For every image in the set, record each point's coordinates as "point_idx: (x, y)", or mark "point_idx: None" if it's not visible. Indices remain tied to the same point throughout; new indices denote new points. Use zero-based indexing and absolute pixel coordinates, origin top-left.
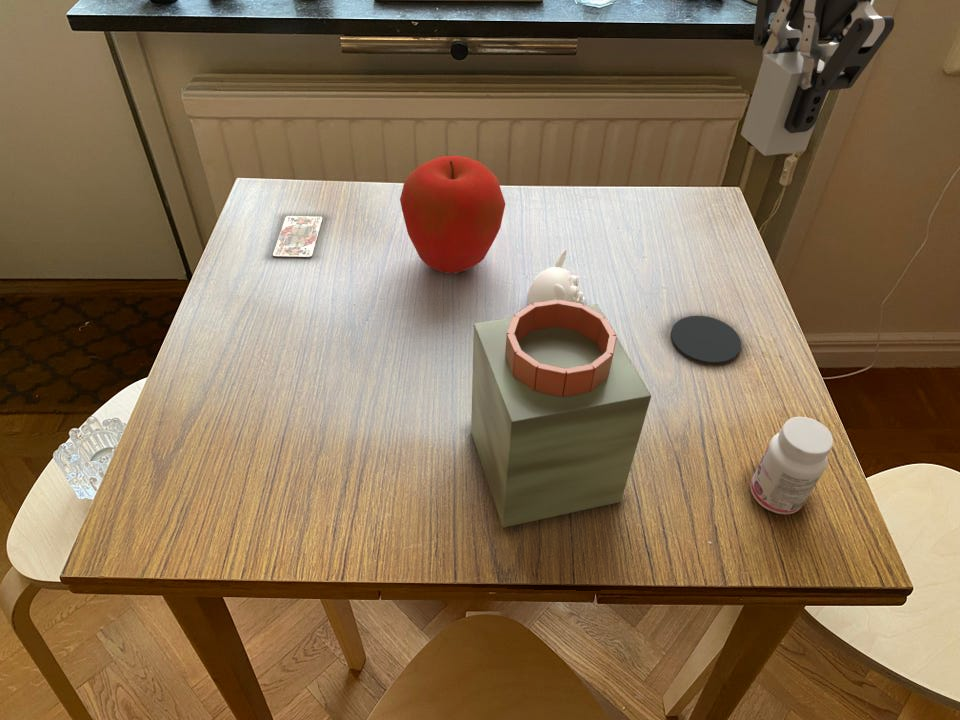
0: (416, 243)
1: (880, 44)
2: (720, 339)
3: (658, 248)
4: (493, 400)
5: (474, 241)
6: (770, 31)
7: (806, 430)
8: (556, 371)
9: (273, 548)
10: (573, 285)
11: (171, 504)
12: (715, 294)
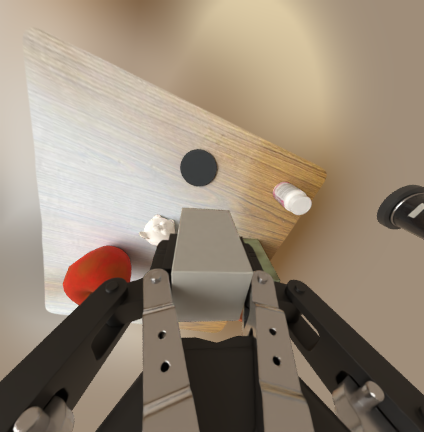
0: None
1: (390, 367)
2: (201, 161)
3: (109, 147)
4: None
5: (129, 271)
6: (118, 321)
7: (300, 205)
8: None
9: None
10: (160, 231)
11: (209, 322)
12: (163, 138)
